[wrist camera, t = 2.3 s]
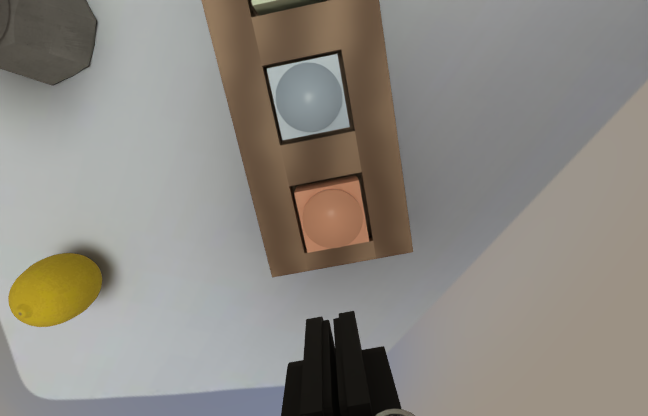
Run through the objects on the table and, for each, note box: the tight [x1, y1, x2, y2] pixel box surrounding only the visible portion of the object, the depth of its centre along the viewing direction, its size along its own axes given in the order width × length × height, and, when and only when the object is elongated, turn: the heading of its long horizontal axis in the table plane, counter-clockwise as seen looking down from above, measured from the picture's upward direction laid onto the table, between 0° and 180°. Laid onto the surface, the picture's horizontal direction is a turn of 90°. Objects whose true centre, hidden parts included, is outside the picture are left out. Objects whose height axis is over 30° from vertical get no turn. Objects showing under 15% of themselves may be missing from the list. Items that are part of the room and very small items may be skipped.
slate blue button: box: [267, 54, 350, 140], centre depth 25 cm, size 5×5×3 cm
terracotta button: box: [294, 175, 369, 253], centre depth 28 cm, size 5×5×3 cm
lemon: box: [9, 253, 102, 327], centre depth 29 cm, size 6×6×8 cm
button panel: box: [202, 0, 413, 277], centre depth 27 cm, size 12×27×4 cm, turn 11°
